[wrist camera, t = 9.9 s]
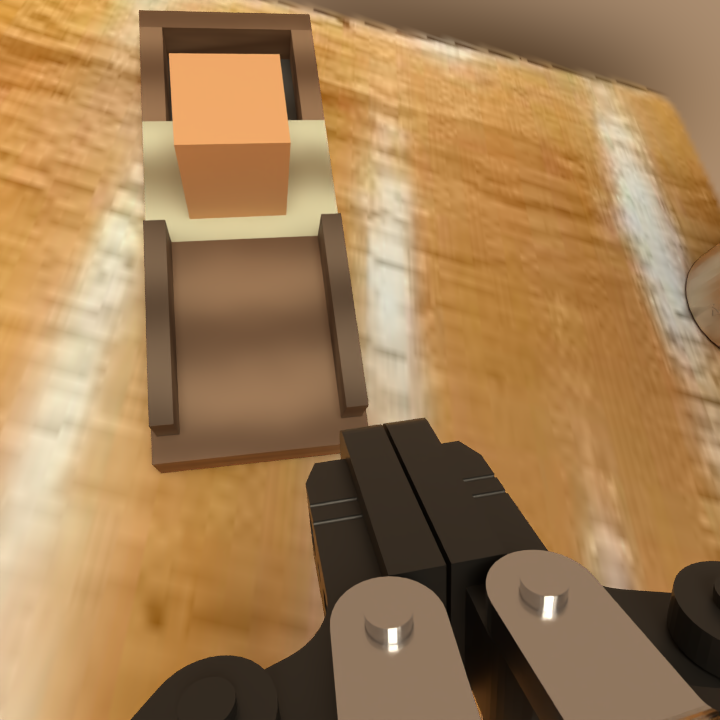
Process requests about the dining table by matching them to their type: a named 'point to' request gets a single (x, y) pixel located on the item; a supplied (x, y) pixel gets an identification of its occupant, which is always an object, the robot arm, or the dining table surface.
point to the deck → (245, 275)
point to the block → (230, 133)
